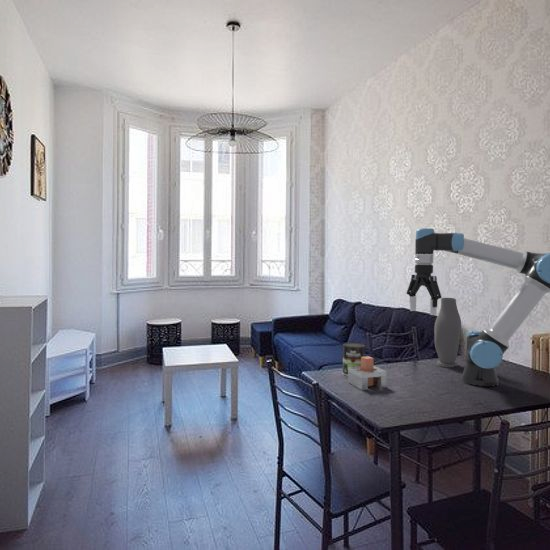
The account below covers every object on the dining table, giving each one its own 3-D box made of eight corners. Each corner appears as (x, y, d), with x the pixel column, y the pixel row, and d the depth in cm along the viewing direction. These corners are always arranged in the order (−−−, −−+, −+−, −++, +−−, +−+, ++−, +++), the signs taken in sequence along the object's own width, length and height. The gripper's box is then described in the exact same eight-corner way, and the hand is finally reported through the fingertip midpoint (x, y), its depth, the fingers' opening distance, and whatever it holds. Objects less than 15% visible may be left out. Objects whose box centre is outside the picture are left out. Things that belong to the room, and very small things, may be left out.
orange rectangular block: (368, 383, 196) (368, 356, 195) (373, 385, 192) (373, 358, 191) (360, 383, 194) (360, 356, 194) (365, 386, 190) (365, 358, 190)
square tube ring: (371, 379, 201) (371, 364, 200) (386, 387, 189) (386, 371, 189) (347, 382, 197) (348, 366, 196) (361, 389, 185) (362, 373, 185)
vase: (442, 360, 238) (443, 296, 236) (465, 365, 228) (467, 298, 226) (429, 365, 229) (430, 298, 227) (452, 370, 219) (454, 300, 217)
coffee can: (363, 377, 204) (364, 347, 203) (341, 376, 206) (342, 346, 205) (364, 372, 214) (365, 343, 213) (343, 370, 216) (343, 342, 215)
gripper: (399, 263, 202) (398, 309, 203) (436, 265, 178) (434, 317, 179) (413, 263, 204) (412, 309, 205) (451, 265, 181) (449, 316, 182)
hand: (422, 312), depth 192 cm, fingers open, 13 cm apart
